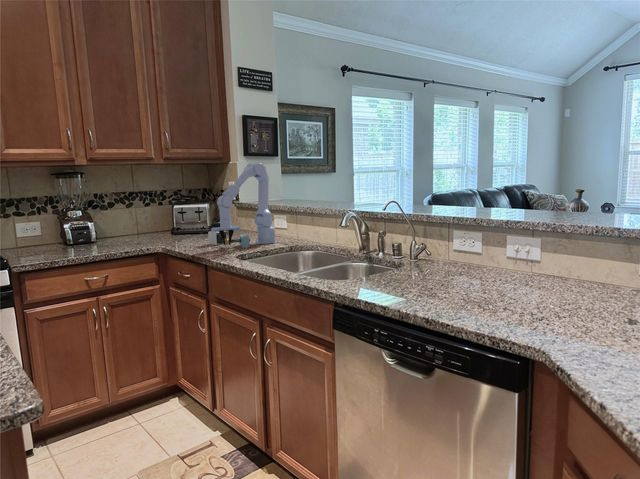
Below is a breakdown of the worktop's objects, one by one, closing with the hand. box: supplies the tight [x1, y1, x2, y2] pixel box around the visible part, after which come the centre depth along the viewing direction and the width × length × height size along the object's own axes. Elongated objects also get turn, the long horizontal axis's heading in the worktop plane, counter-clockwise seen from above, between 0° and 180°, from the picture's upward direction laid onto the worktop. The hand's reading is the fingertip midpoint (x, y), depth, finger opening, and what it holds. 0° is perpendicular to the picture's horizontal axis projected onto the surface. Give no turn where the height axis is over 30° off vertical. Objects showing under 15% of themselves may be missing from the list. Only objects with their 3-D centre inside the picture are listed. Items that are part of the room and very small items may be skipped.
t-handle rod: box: [225, 237, 251, 246], centre depth 247 cm, size 14×9×3 cm, turn 105°
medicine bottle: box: [207, 221, 227, 246], centre depth 258 cm, size 7×7×12 cm
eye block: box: [239, 233, 250, 249], centre depth 248 cm, size 4×10×6 cm, turn 15°
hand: (227, 244), depth 243 cm, fingers closed on t-handle rod, 2 cm apart
